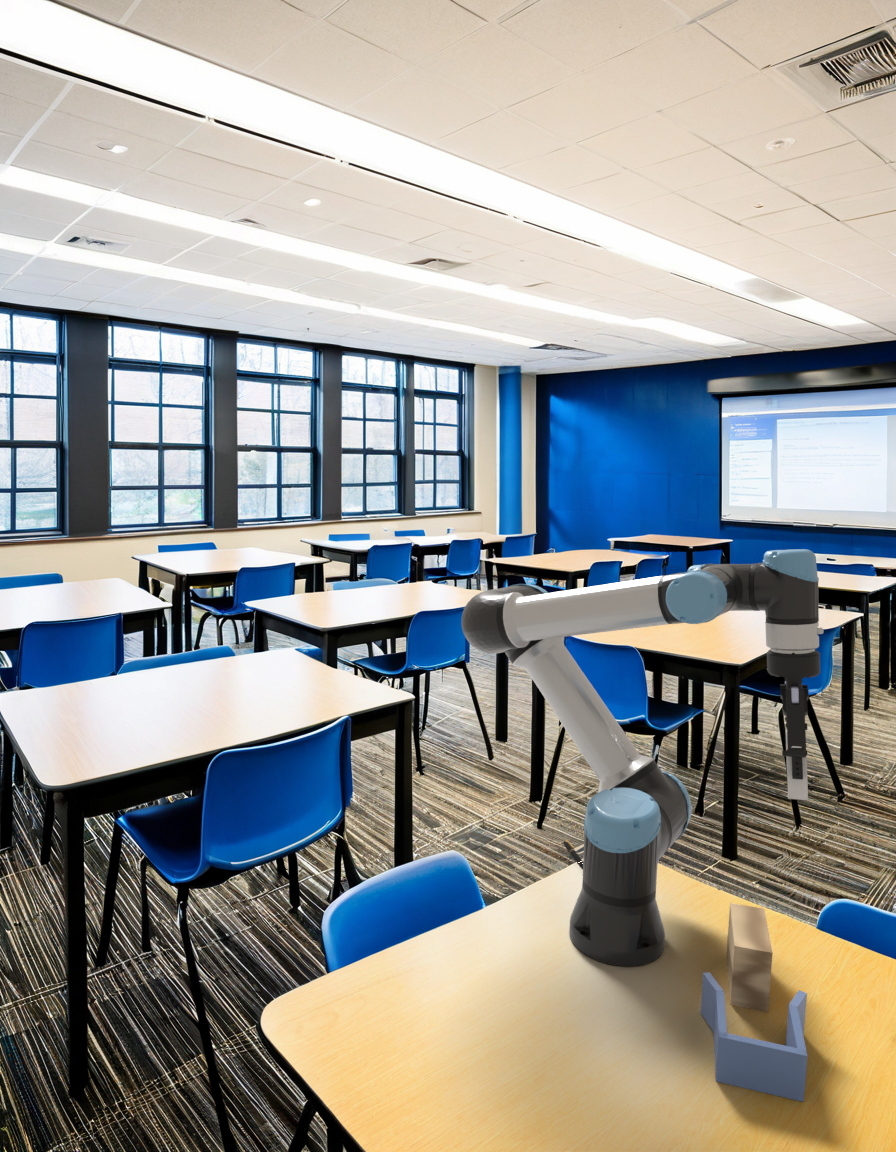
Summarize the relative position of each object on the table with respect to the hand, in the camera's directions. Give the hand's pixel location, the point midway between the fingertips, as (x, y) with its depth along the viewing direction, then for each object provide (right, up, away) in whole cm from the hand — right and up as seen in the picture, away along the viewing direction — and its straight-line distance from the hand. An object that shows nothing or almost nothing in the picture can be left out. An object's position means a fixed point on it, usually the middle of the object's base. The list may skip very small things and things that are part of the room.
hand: (796, 783), depth 120 cm
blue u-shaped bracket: (-15, -30, -20) cm, 39 cm away
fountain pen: (-29, -24, +32) cm, 49 cm away
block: (-10, -28, -5) cm, 31 cm away
